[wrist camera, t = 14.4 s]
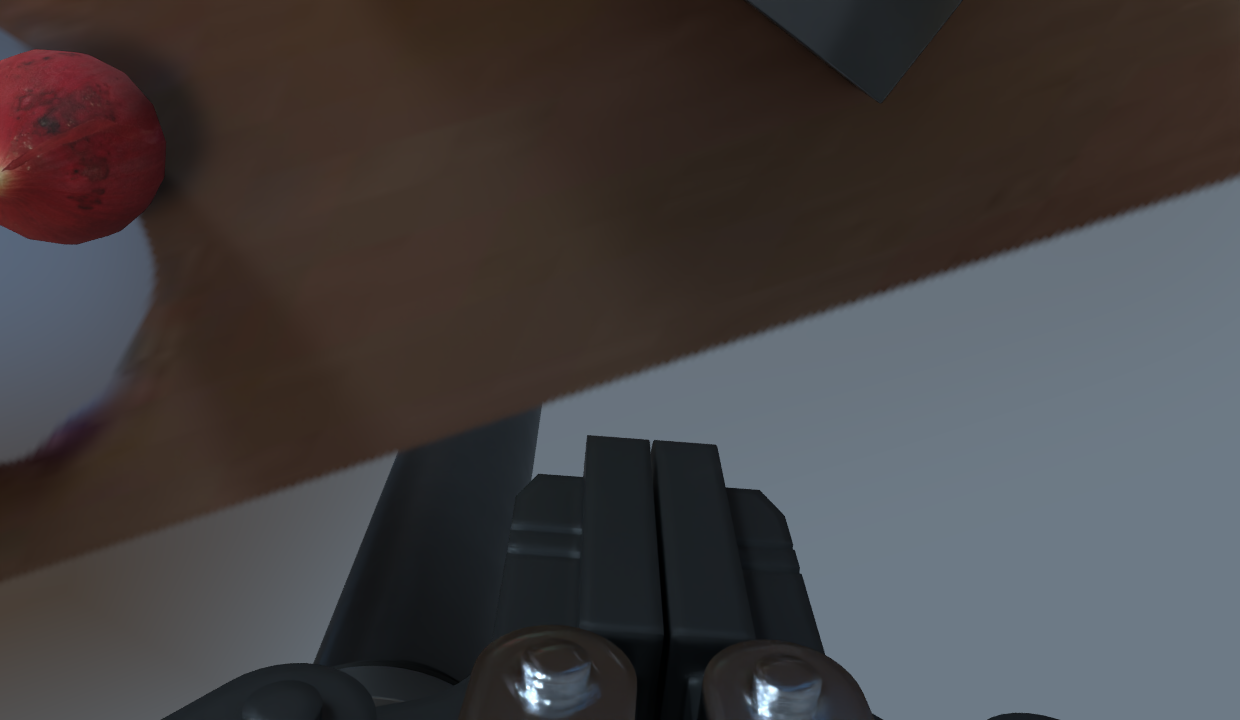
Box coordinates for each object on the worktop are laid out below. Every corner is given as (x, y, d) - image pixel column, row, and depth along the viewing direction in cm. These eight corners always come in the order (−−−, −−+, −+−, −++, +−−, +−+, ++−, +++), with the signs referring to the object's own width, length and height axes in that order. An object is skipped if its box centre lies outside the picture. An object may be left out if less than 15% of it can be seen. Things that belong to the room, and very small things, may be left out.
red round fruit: (108, 0, 33) (-35, 22, 26) (237, 141, 35) (138, 200, 28) (-9, 110, 35) (-176, 161, 27) (121, 240, 36) (-3, 321, 29)
